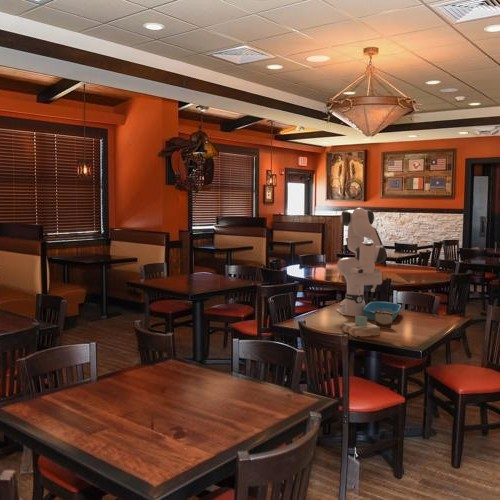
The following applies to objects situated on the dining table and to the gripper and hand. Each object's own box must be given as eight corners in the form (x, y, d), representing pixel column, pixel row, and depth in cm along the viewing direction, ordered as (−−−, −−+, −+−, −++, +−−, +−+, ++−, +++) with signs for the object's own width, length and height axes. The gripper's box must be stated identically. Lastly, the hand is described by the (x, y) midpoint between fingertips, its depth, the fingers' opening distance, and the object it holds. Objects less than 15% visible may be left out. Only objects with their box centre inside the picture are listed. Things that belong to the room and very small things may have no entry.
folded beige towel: (341, 331, 333) (342, 322, 332) (365, 329, 338) (365, 321, 337) (355, 337, 318) (355, 329, 317) (379, 335, 323) (379, 327, 322)
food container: (396, 327, 342) (396, 311, 341) (393, 329, 337) (393, 312, 336) (376, 324, 348) (377, 308, 347) (373, 326, 343) (374, 310, 342)
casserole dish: (395, 324, 350) (395, 313, 349) (360, 321, 358) (360, 310, 357) (402, 313, 383) (403, 303, 383) (370, 310, 392) (370, 300, 391)
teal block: (355, 324, 329) (355, 316, 328) (362, 323, 331) (362, 315, 330) (359, 326, 324) (359, 317, 324) (366, 325, 326) (367, 317, 326)
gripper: (379, 267, 333) (378, 290, 335) (348, 269, 326) (348, 292, 328) (384, 269, 327) (383, 292, 329) (354, 270, 320) (353, 294, 322)
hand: (365, 292), depth 328 cm, fingers open, 8 cm apart
